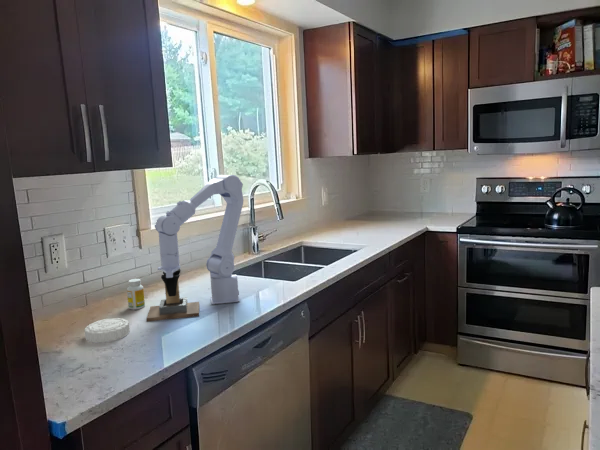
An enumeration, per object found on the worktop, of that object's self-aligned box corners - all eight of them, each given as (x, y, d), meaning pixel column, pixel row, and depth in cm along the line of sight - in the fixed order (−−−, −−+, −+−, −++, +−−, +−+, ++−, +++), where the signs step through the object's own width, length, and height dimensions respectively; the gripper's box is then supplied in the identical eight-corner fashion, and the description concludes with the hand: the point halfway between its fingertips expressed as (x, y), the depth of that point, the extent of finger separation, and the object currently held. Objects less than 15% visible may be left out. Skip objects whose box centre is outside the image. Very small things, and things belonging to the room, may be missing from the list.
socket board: (199, 304, 159) (198, 294, 159) (199, 315, 148) (198, 305, 147) (150, 309, 156) (149, 299, 156) (146, 321, 145) (145, 310, 144)
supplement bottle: (126, 310, 156) (124, 282, 155) (130, 305, 161) (128, 278, 160) (143, 309, 157) (140, 281, 155) (146, 304, 162) (144, 277, 160)
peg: (179, 298, 154) (177, 275, 152) (179, 302, 150) (177, 278, 149) (167, 299, 153) (165, 276, 152) (166, 303, 149) (164, 279, 148)
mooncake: (113, 325, 143) (112, 314, 143) (138, 332, 137) (137, 320, 136) (76, 338, 133) (75, 327, 133) (102, 346, 127) (100, 334, 126)
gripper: (158, 249, 155) (161, 289, 157) (154, 258, 141) (158, 301, 143) (180, 248, 157) (183, 287, 159) (178, 256, 143) (181, 299, 145)
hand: (172, 293), depth 151 cm, fingers closed on peg, 4 cm apart
